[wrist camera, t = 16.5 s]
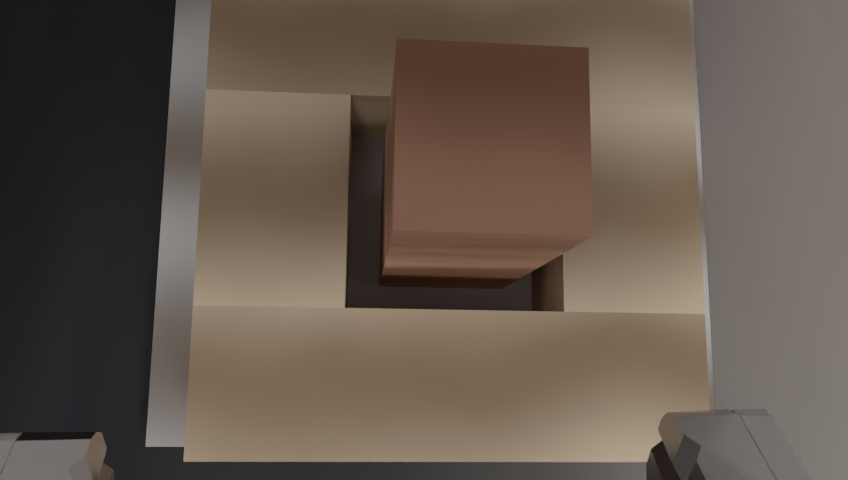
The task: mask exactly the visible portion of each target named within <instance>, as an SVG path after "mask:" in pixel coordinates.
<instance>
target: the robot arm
mask: <svg viewBox="0 0 848 480" xmlns="http://www.w3.org/2000/svg"><path fill="white" fill-rule="evenodd" d="M658 431H659V434H660V436H661V438H662V441H661V442H659V443H658V444H657V445H656V446H654V447H653V448H652V449H651V450H650V454H649V457H648V461H647V480H811V478H810V476H809V475H808V473H807V472H806V470H805V468H804V467H803V465H802V463H801V462H800V460H799V458H798V457H797V455H796V454H795V452H794V450H793V449H792V447H791V445H790V444H789V442H788V441H787V439H786V437H785V436H784V434H783V432H782V431H781V429H780V427H779V426H778V424H777V423H776V421H775V419H774V418H773V416H772V415H771V413H769V412H768V411H767V410H765V409H742V410H706V411H684V412H667V413H666V414H665V415H664V416H663V417H662V419H661V421H660V424H659V427H658ZM106 450H107V447H106V444H105V441H104V438H103V435H102V433H100V432H24V433H0V480H115V477H114V473H113V469H111V468H110V467H108V466H107V465H106V464H104V463H103V460H104V457H105V453H106Z"/></svg>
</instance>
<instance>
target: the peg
mask: <svg viewBox="0 0 848 480" xmlns="http://www.w3.org/2000/svg"><path fill="white" fill-rule="evenodd" d="M591 237H593V212H592V170H591V127H590V84H589V48H586V47H566V46H545V45H525V44H504V43H483V42H463V41H442V40H422V39H401V38H397V44H396V53H395V61H394V70H393V78H392V87H391V95H390V104H389V112H388V121H387V130H386V138H385V147H384V155H383V164H382V197H381V240H380V282H379V286H392V287H436V288H479V289H503V288H505V287H506V286H508V285H510V284H511V283H513V282H515V281H517V280H518V279H520V278H522V277H524V276H525V275H527V274H529V273H530V272H532V271H534V270H536V269H537V268H539V267H541V266H543V265H544V264H546V263H548V262H550V261H551V260H553V259H555V258H556V257H558V256H560V255H562V254H563V253H565V252H567V251H569V250H570V249H572V248H574V247H575V246H577V245H579V244H581V243H582V242H584V241H586V240H588V239H589V238H591Z"/></svg>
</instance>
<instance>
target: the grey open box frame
mask: <svg viewBox="0 0 848 480" xmlns="http://www.w3.org/2000/svg"><path fill="white" fill-rule="evenodd" d="M397 38H401V39H422V40H442V41H463V42H483V43H504V44H525V45H545V46H566V47H586V48H589V84H590V127H591V170H592V212H593V237H591V238H589V239H588V240H586V241H584V242H582V243H581V244H579V245H577V246H575V247H574V248H572V249H570V250H569V251H567V252H565V253H563V254H562V255H560V256H558V257H556V258H555V259H553V260H551V261H550V262H548V263H546V264H544V265H543V266H541V267H539V268H537V269H536V270H534V271H532V272H530V273H529V274H527V275H525V276H524V277H522V278H520V279H518V280H517V281H515V282H513V283H511V284H510V285H508V286H506V287H505V288H503V289H479V288H436V287H392V286H379V282H380V240H381V197H382V164H383V155H384V147H385V138H386V130H387V121H388V112H389V104H390V95H391V87H392V78H393V70H394V61H395V53H396V44H397ZM706 410H715V405H714V386H713V367H712V348H711V329H710V310H709V290H708V271H707V252H706V233H705V214H704V195H703V175H702V156H701V137H700V118H699V99H698V80H697V60H696V41H695V22H694V3H693V0H176V9H175V23H174V38H173V52H172V67H171V81H170V96H169V111H168V125H167V140H166V154H165V169H164V183H163V198H162V213H161V227H160V242H159V256H158V271H157V285H156V300H155V314H154V329H153V344H152V358H151V373H150V387H149V402H148V416H147V431H146V445H145V447H184V460H183V462H647V461H648V457H649V454H650V450H651V449H652V448H653V447H654V446H656V445H657V444H658V443H659V442H661V441H662V438H661V436H660V434H659V431H658V427H659V424H660V421H661V419H662V417H663V416H664V415H665V414H666V413H667V412H684V411H706Z"/></svg>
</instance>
